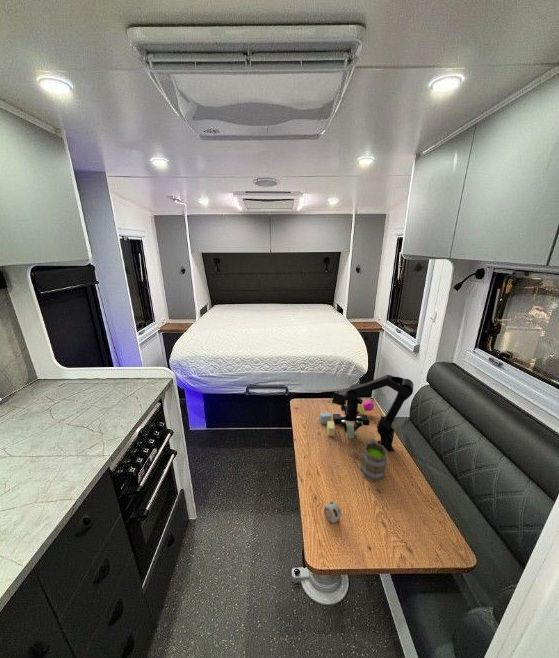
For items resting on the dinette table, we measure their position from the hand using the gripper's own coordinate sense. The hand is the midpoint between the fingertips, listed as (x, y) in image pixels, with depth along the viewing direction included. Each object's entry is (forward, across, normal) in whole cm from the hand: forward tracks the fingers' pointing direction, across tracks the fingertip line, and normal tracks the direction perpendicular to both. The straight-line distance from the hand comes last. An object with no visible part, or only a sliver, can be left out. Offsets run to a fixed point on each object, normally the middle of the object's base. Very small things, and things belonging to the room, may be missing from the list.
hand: (349, 432), depth 141 cm
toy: (+2, -10, -18) cm, 21 cm away
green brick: (+1, 0, 0) cm, 1 cm away
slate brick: (+1, +12, -10) cm, 16 cm away
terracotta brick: (+1, +4, -10) cm, 11 cm away
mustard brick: (+1, +10, -1) cm, 10 cm away
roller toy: (+2, +16, +47) cm, 49 cm away
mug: (+2, -6, +22) cm, 23 cm away
